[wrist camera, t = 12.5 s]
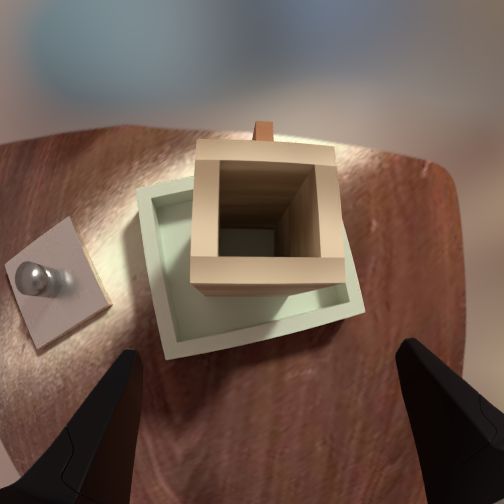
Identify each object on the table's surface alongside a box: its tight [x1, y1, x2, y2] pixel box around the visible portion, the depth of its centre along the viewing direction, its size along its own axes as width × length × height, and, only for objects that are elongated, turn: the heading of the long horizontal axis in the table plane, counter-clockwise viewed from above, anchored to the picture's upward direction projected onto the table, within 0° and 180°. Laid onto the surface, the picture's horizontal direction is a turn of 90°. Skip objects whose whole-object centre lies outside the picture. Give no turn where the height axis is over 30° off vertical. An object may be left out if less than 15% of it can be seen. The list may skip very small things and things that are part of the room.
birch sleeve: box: [190, 121, 346, 297], centre depth 18 cm, size 8×6×11 cm
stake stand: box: [5, 216, 113, 349], centre depth 20 cm, size 8×8×4 cm
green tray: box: [136, 176, 365, 360], centre depth 22 cm, size 12×14×3 cm
